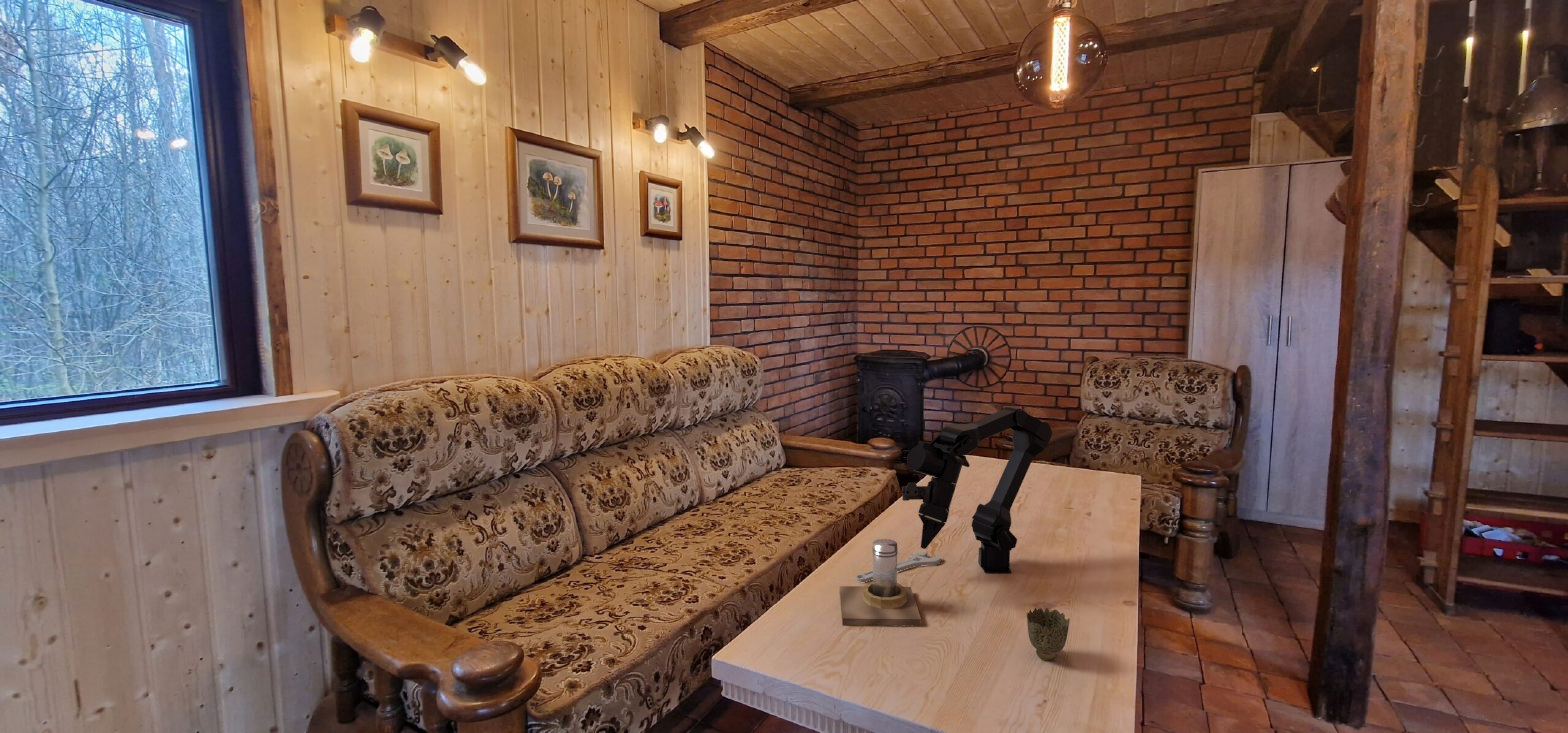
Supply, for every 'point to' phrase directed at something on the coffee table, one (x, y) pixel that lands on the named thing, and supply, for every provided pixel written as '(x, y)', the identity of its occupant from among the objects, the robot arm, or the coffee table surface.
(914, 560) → the adjustable wrench
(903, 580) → the coffee table surface
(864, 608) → the ring seat
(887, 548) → the silver metal cylinder
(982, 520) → the robot arm
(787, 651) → the coffee table surface
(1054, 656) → the cup
